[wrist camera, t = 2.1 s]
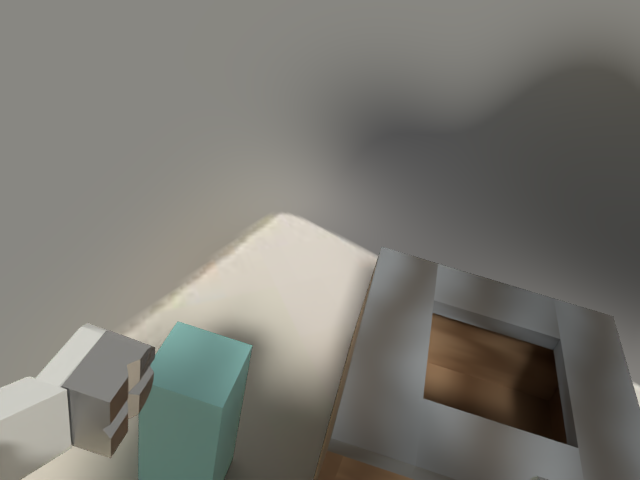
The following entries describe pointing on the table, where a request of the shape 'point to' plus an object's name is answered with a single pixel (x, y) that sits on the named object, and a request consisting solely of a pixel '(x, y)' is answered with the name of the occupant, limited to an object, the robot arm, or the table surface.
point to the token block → (192, 406)
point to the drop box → (478, 384)
